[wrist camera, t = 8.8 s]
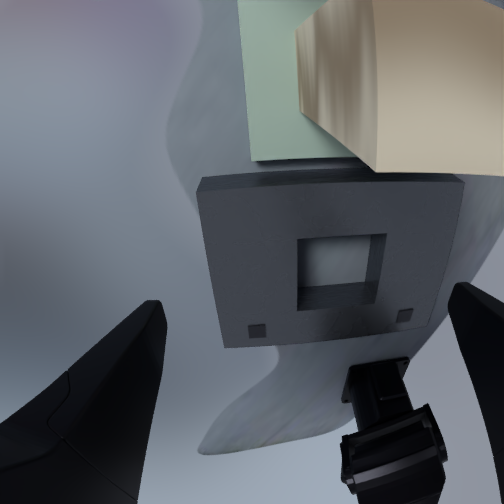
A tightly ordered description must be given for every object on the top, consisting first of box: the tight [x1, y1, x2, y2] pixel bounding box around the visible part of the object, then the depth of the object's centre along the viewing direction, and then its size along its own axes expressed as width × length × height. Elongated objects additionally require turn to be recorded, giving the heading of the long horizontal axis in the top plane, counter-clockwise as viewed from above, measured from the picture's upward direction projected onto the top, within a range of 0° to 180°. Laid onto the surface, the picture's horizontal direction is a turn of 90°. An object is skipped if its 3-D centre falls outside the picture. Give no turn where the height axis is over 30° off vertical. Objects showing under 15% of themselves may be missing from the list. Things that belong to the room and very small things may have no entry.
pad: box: [237, 0, 358, 161], centre depth 15 cm, size 10×10×1 cm
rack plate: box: [196, 168, 465, 348], centre depth 20 cm, size 12×16×3 cm
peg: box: [294, 0, 504, 176], centre depth 10 cm, size 4×4×11 cm
